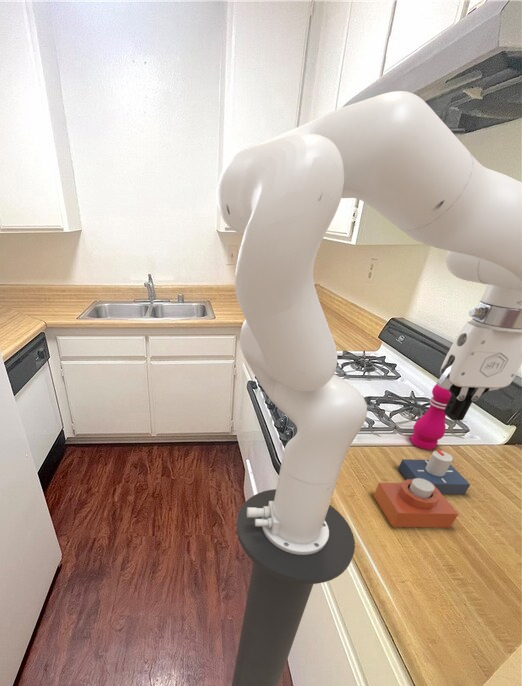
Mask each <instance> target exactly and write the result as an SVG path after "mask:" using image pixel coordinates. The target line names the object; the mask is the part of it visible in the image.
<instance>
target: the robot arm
mask: <svg viewBox="0 0 522 686" xmlns="http://www.w3.org/2000/svg"><path fill="white" fill-rule="evenodd" d="M229 159H230V160H229V161H228V162H227V163H226V164H225V166H224V168H223V169H222V171H221V173H220V176H219V179H218V183H217V188H216V202H217V208H218V211H219V214H220V216H221V218H222V220H223V222H224V223H225V224H226V225H227V226H228V227H229V228H230V229H231V230H233V231H234V232H236V233H238V234H240V235H242V240H241V243H240V247H239V251H238V256H237V261H236V266H235V273H234V291H235V296H236V300H237V303H238V306H239V308H240V310H241V312H242V315H243V318H244V320H243V322H242V325H241V328H240V333H239V346H240V350H241V353H242V355H243V357H244V359H245V361H246V364H247V365H248V367H249V368H250V370H251V372H252V373H253V375H254V376H255V378H256V380H257V382H258V384H259V385H260V387H261V388H262V390H263V391H264V393H265V394H266V396H267V397H268V399H269V400H270V401H271V403H273V405H274V406H275V407H276V408H278V409H279V410H280V411H281V412H282V413H283V414H284V415H285V416H286V417H287V418H288V419H289V420H290V421H291V422H292V423H293V424H294V425H295V427H296V434H295V435H294V436H293V437H292V438H290V439H289V440H288V441H287V442H286V444H285V446H284V449H283V452H282V457H281V463H280V468H279V473H278V478H277V483H276V488H275V489H276V493H275V498H274V501H269V504H268V506H263V508H253V507H247V517H249V518H257V517H262V519H255V526H262V529H263V532H264V534H265V536H266V537H267V538H268V539H269V541H270V542H272V543H273V544H274V545H275V546H277V547H278V548H280V549H282V550H284V551H286V552H289V553H292V554H298V555H308V554H313V553H316V552H318V551H320V550H321V549H322V548H323V547H324V546H325V545H326V543H327V541H328V537H329V529H328V525H327V523H326V521H325V517H326V514H327V511H328V508H329V505H331V502H332V499H333V495H334V493H335V489H336V487H337V484H338V480H339V477H340V473H341V470H342V468H343V465H344V462H345V459H346V456H347V454H348V452H349V450H350V448H351V446H352V444H353V442H354V441H355V439H356V437H357V435H358V434H359V432H360V430H361V429H362V428H363V425H364V424H365V421H366V419H367V416H368V406H367V402H366V400H365V398H364V395H362V394H361V392H360V391H359V390H358V389H357V388H356V387H355V386H354V385H352V384H351V383H350V382H348V381H347V380H345V379H344V378H342V377H340V376H339V375H337V374H335V373H336V370H337V367H338V350H337V345H336V343H335V340H334V337H333V334H332V332H331V329H330V327H329V323H328V321H327V318H326V315H325V313H324V310H323V307H322V305H321V302H320V300H319V299H320V298H319V296H318V292H317V288H316V286H315V280H314V268H315V267H314V266H315V262H316V259H317V255H318V252H319V249H320V247H321V244H322V242H323V239H324V237H325V236H326V233H327V231H328V230H329V228H330V226H331V224H332V222H333V221H334V218H335V216H336V214H337V212H338V209H339V206H340V203H341V201H342V199H356V200H359V201H361V202H364V204H365V203H366V204H367V205H368V206H369V207H371V208H372V209H373V210H374V211H376V212H377V213H378V214H380V215H381V216H383V217H384V218H385V219H386V220H388V222H390V223H392V224H393V225H394V226H396V227H397V228H398V229H399V230H401V231H402V232H403V233H404V234H406V236H408V237H410V238H411V239H412V240H414V241H416V242H419V243H422V244H424V245H427V246H430V247H433V248H436V249H439V250H442V251H443V250H444V251H447V252H446V258H445V259H446V260H445V261H446V262H445V263H446V267H447V270H448V271H449V272H450V273H451V274H452V275H453V276H454V277H456V278H458V279H460V280H463V281H467V282H472V283H476V284H477V283H478V284H482V285H487V286H486V288H485V290H484V291H483V294H482V296H481V298H480V300H479V302H478V303H477V304H478V305H477V307H472V308H470V310H469V312H468V316H469V317H470V318H471V319H470V320H468V321H466V323H465V325H463V327H462V329H461V330H460V331H459V332H458V335H457V336H456V338H455V339H454V341H453V342H452V344H451V346H450V348H449V350H448V351H447V353H446V356H445V358H444V359H443V362H442V364H441V366H440V370H439V375H440V377H439V378H438V379H437V381H436V384H437V385H438V386H440V387H441V388H444V389H447V390H449V393H450V394H451V397H450V399H449V401H448V403H447V405H446V408H445V410H444V413H445V414H446V416H447V417H448V418H449V419H451V420H452V421H463V420H464V419H465V417H466V414H467V413H468V412H469V409H470V408H471V406H472V403H473V402H476V401H478V400H479V399H480V397H481V396H482V395H484V394H486V393H487V392H493V391H498V390H500V389H503V388H506V387H509V386H510V385H511V383H512V382H513V381H514V379H515V377H516V376H517V374H518V372H519V370H520V368H521V366H522V181H519V180H518V179H516V178H513V177H511V176H509V175H506V174H504V173H501V172H499V171H496V170H493V169H490V168H487V167H485V166H484V165H482V164H481V162H479V161H478V160H477V158H475V157H474V156H473V154H472V153H471V152H470V151H469V150H468V148H467V147H466V146H465V145H464V144H463V143H462V141H460V139H459V138H458V137H457V136H456V135H455V133H453V131H452V130H451V129H450V128H449V127H448V126H447V124H446V123H444V121H443V120H442V119H441V118H440V117H439V116H438V114H437V113H436V112H435V111H434V109H432V108H431V106H430V105H429V104H428V103H427V102H426V101H425V100H424V99H423V98H421V97H420V96H419V95H417V94H416V93H413V92H410V91H406V90H404V91H403V90H395V91H389V92H384V93H382V94H381V93H380V94H378V95H375V96H372V97H369V98H366V99H364V100H360V101H357V102H354V103H351V104H348V105H345V106H342V107H340V108H339V107H338V108H337V109H334V110H332V111H330V112H328V113H326V114H324V115H322V116H320V117H317V118H315V119H313V120H311V121H308V122H307V123H304V124H302V125H300V126H297V127H295V128H292V129H291V130H288V131H286V132H283V133H281V134H278V135H276V136H273V137H271V138H268V139H266V140H263V141H261V142H258V143H256V144H253V145H251V146H248V147H246V148H244V149H242V150H240V151H238V152H237V153H236V154H234V155H233V156H232V157H231V158H229ZM459 387H460V388H459Z"/></svg>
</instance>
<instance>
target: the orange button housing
mask: <svg viewBox="0 0 522 686" xmlns="http://www.w3.org/2000/svg"><path fill="white" fill-rule="evenodd" d="M412 480H413V479H405V480H403V481H402V482H378V483H377V486H376V489H375V491H374V493H373V498H374V499H375V501H376V503H377V504H378V506H379V508H380V509H381V511H382V512H383V514H384V516H385V517H386V520H387V521H388V522H389V524H390V526H391V527H394V528H445V529H447V528H451V527H452V525H453V524H454V522H455V521H456V519H457V517H458V516H459V512H457V509H455V508H454V507H453V505H452V504H451V503H450V502H449V501H448V499H447V498H446V497H445V496H444V494H441V493H440V491H439V490H438V489H437V488H436V487H435V485H434V484H433V485H434V491H433V493H432V495H431V496H430V497H429V498H421V497H418V496H416V495H414V494H413V493H411V492H410V490H409V487H410V485H411V483H412Z"/></svg>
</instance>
